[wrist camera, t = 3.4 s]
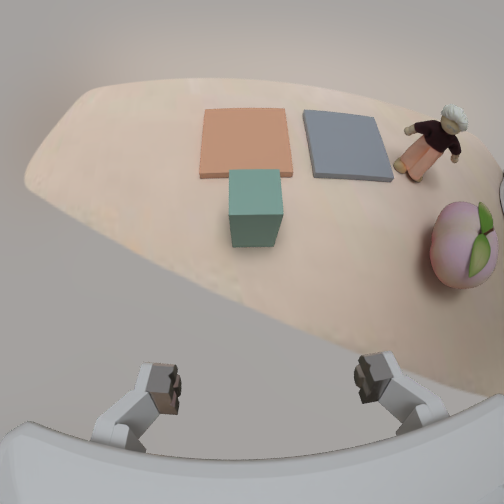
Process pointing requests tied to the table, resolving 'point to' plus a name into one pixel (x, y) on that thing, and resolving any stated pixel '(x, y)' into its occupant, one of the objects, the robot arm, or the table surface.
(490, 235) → the decorative fruit
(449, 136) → the grandmother figurine
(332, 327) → the table surface
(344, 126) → the slate tile
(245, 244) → the green wooden block
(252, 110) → the terracotta tile
